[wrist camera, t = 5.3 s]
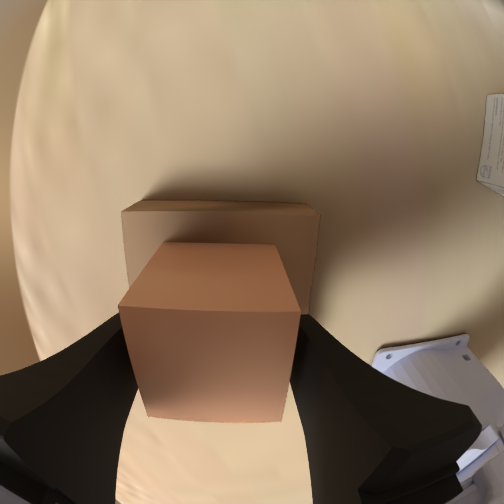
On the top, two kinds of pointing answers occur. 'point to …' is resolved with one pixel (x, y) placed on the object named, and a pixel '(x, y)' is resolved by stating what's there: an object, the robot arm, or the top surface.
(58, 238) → the top surface
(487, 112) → the light bulb box
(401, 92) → the top surface
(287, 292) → the block
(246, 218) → the plinth
